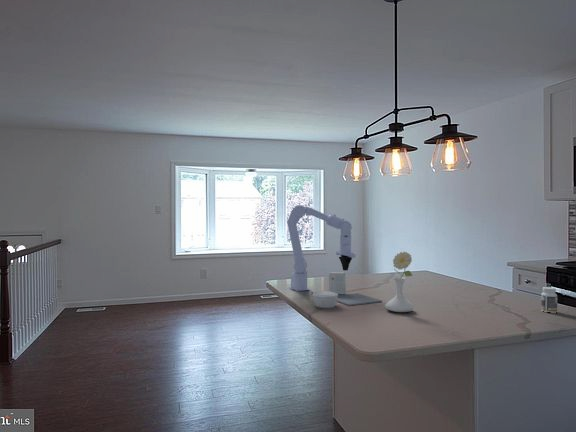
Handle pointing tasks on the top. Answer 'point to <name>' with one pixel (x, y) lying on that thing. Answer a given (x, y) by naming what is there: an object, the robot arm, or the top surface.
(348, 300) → the grey mat
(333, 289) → the small box
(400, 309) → the flower in vase
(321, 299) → the ramekin
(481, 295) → the top surface
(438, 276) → the top surface
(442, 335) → the top surface
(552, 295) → the pill bottle
